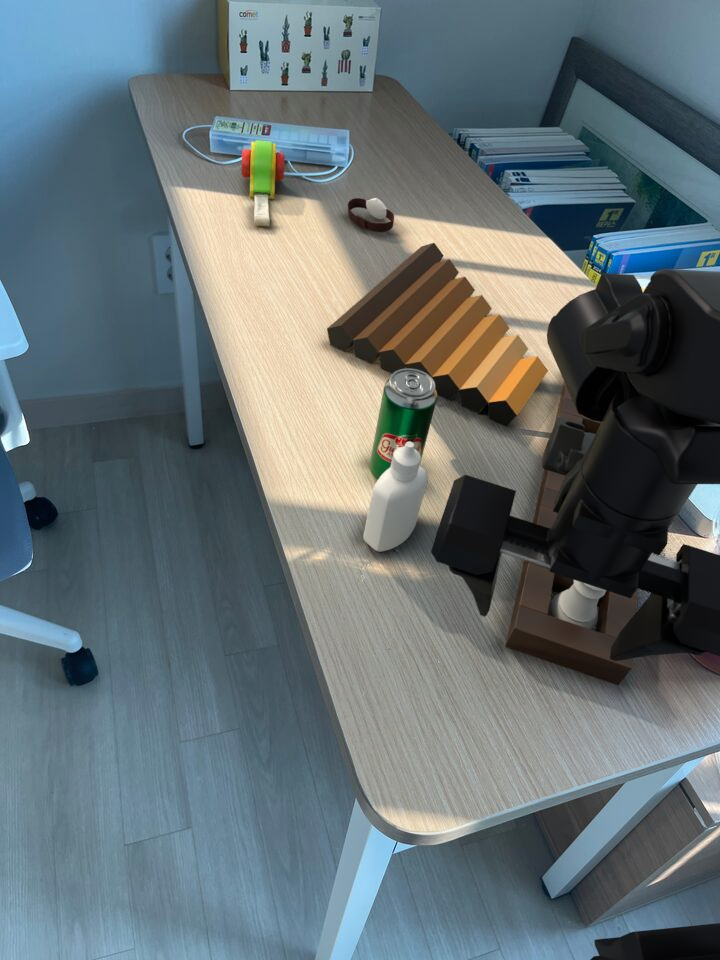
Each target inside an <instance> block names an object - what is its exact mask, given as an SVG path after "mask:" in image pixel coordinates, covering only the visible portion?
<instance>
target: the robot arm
mask: <svg viewBox="0 0 720 960" xmlns="http://www.w3.org/2000/svg"><path fill="white" fill-rule="evenodd" d="M649 280H650V281H649V282H648V283H647V285H646V286H645V288H644V290H643V289H642V286H641V284H640V282H639V281H638V279H637V277H636V276H635V274H626V273H606V272H605V273H604V272H603V273H601V274H600V277H599V279H598V282H597V284H596V286H595V288H594V289H592V290H589V291H586V292H584V293H580V294H579V295H577V296H576V297H574V298H572V299H571V300H569V301H568V302H567V303H566V304H565V305H564V306H563V307H561V308H560V310H559V311H558V312H557V313H556V314H555V315H554V316H552V317H551V319H550V321H549V323H548V326H547V332H546V340H547V341H546V342H547V346H548V347H549V350H550V352H551V355H552V356H553V359H554V361H555V363H556V366H557V368H558V370H559V372H560V375H561V377H562V379H563V383H564V382H565V384H566V386H567V389H568V391H569V393H570V395H571V398H572V400H573V402H574V404H575V407H576V409H577V411H578V413H579V414H581V415H583V416H585V417H587V418H589V419H591V420H594V421H599V422H601V424H600V427H599V429H598V431H597V433H596V434H594V433H588V432H584V429H585V427H584V425H583V424H580V423H577V422H573V421H570V420H567V419H563V418H560V417H558V419H557V421H556V423H555V422H554V424H555V425H553V427H552V430H551V432H550V435H549V437H548V440H547V442H546V445H545V449H544V452H543V455H542V463H541V468H542V469H543V470H544V469H545V470H548V471H552V472H555V473H558V474H561V475H564V476H565V478H564V481H563V483H562V485H561V487H560V489H559V491H558V493H557V496H556V498H555V502H554V507H553V512H556V513H558V514H557V516H556V518H555V521H554V523H553V525H552V527H551V529H550V528H547V527H544V526H541V525H538V524H535V523H533V521H532V522H531V521H527V520H525V519H522V518H519V517H515V516H513V515H511V513H512V509H513V505H514V500H515V496H516V493H517V490H515V489H512V488H510V487H505V486H503V485H499V484H497V483H493V482H491V481H487V480H484V479H480V478H477V477H474V476H471V475H468V474H463V475H462V476H460V477H458V478H455V479H454V480H453V483H452V486H451V489H450V491H449V494H448V498H447V501H446V504H445V506H444V509H443V511H442V515H441V518H440V521H439V523H438V528H437V530H436V533H435V536H434V540H433V543H432V546H431V549H430V550H431V551H430V554H431V555H432V556H433V558H434V559H435V561H436V562H437V563H439V564H443V565H446V566H448V569H449V571H450V572H451V573H452V574H453V575H455V576H458V577H461V578H462V580H463V581H464V583H465V584H466V586H467V587H468V589H469V590H470V592H471V593H472V596H473V598H474V601H475V604H476V608H477V610H478V612H479V615H480V616H482V617H487V615H488V614H489V612H490V609H491V605H492V601H493V597H494V593H495V588H496V584H497V579H498V573H499V570H500V569H499V568H500V564H501V558H502V554H504V555H507V556H510V557H513V558H516V559H519V560H523V561H524V560H525V561H528V562H531V563H534V564H537V565H540V566H543V567H546V568H549V569H550V571H549V572H552V573H555V574H558V575H561V576H564V577H567V578H570V579H573V580H576V581H579V582H582V583H585V584H588V585H591V586H595V587H598V588H601V589H604V590H607V591H610V592H613V593H616V594H619V595H622V596H625V597H628V598H631V597H632V596H633V594H634V593H635V591H636V590H637V589H638V590H641V591H644V592H647V593H649V595H648V597H647V598H646V599H645V601H644V602H643V603H642V604H641V606H640V607H639V608H637V612H636V613H635V614H634V615H633V617H632V618H631V619H630V620H629V622H628V623H627V624H626V625H625V627H624V628H623V629H622V630H621V631H620V633H619V634H618V636H617V638H616V639H615V641H614V643H613V645H612V647H611V652H610V659H611V660H613V661H620V660H626V659H632V658H633V659H637V658H643V657H652V656H661V655H676V654H677V655H678V654H691V655H693V656H703V655H705V654H706V653H709V654H712V655H714V656H718V657H720V554H717V553H714V552H712V551H708V550H705V549H702V548H698V547H695V546H692V545H690V544H685V543H683V544H682V545H681V546H680V547H679V549H678V551H677V552H676V553H675V560H672V559H668V558H665V557H662V556H661V554H662V553H663V551H664V550H665V548H666V547H667V545H668V540H669V539H668V538H669V537H668V536H669V528H670V527H671V525H672V524H673V522H674V521H675V520H676V518H677V516H678V515H679V513H680V512H681V510H682V509H683V507H684V505H685V504H686V502H687V501H688V500H689V498H690V497H691V495H692V493H693V492H694V490H695V489H696V487H697V486H698V485H720V271H715V270H713V271H712V270H693V269H678V268H677V269H676V268H661V269H658V270H656V271H654V272H653V273H652V274H651V276H650V278H649ZM593 942H594V947H595V949H596V951H597V953H598V955H593V956H592V957H591V958H590V959H589V960H720V922H717V923H707V924H696V925H687V926H686V925H685V926H677V927H676V926H675V927H668V928H658V929H648V930H646V929H645V930H637V931H631V932H629V933H626V934H624V935H621V936H618V937H607V938H596V939H594V941H593Z"/></svg>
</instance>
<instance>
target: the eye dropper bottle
mask: <svg viewBox="0 0 720 960" xmlns="http://www.w3.org/2000/svg"><path fill="white" fill-rule="evenodd" d="M420 461H421V462H422V459H421V456H420V454H419V452H418V451H417V450H415V449H414V444H413V443H412V442H407V443H406V444H405V446H404V447H399V448H397V449H396V450H395V451H394V453H393V458H392V462H391V467H390V468H389V469H387V470H386V471H385V472H384V473H383V474H382V475H381V476H380V478H379V479H378V480H376V482H375V484H374V486H373V489H372V492H371V497H370V501H369V506H368V512H367V517H366V520H365V526H364V530H363V538H362V539H363V541H364V542H365V543H366V544H367V545H368V546H369V547H370V548H372V549H373V550H374V551H376V552H377V553H378V552H379V553H381V552H386V551H390V550H392V549H395V548H396V547H399V546H400V545H402V544H404V542H405V541H406V540H407V539H408V538H409V537H410V536H411V535H412V533H413V531H414V530H415V528H416V525H417V521H418V518H419V514H420V510H421V507H422V503H423V499H424V495H425V493H426V492H425V491H426V488H427V483H428V480H429V479H428V478H429V476H428V475H429V474H428V472H427V470H426V469H425V468H424V467H423V466H421V463H420Z"/></svg>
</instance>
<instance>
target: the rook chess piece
mask: <svg viewBox="0 0 720 960" xmlns="http://www.w3.org/2000/svg"><path fill="white" fill-rule="evenodd" d="M605 593H606V590H604V589H601V588H598V587H595V586H591V585H588V584H585V583H582V582H579V581H576V580H574V584H573V585H572V586H571V587H570V588H569V589H567V590H565V591H562V592H560V593H559V594H558V593H556V595H554V596H553V597H552V599H551V600H550V603H549V608H548V613H547V615H549V616H552V617H555V618H558V619H561V620H564V621H567V622H570V623H573V624H576V625H579V626H582V627H585V628H588V629H591V630H594V631H595V629H596V625H597V621H598V607H597V603H598V600H599V598H601V597H602V596H604V595H605Z"/></svg>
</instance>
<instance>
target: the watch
mask: <svg viewBox="0 0 720 960" xmlns="http://www.w3.org/2000/svg"><path fill="white" fill-rule="evenodd" d="M358 208H359V209H365V210H367V211H368V213H369V214H370V215H371V216H372V217H374V218H375V219H378V220H383V219H387V220H389V221H387V222H373V221H370V220H368V219H365V218H362V217H361V216H359V215H358V214H357V215H356V214H355V213H354V212H353V211H352V210H353V209H358ZM347 213H348V214H347V215H348V218H349V220H350V221H351V222H352V223H354V225H356V226H357V227H359V228H361V229H363V230H368V231H370V232H373V233H374V232H375V233H384V232H389V231H391V230H392V229H393V227H394V223H395V215H394V212H392V211H391V210H389V209H388V208H387V206H386V204H385V203H384V202H383V201H382V200H380V199H379V198H378V197H374V198H370V199H369V200H367V199H365V198H361V197H355V198H352V199H350V200H349V201H348V202H347Z"/></svg>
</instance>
